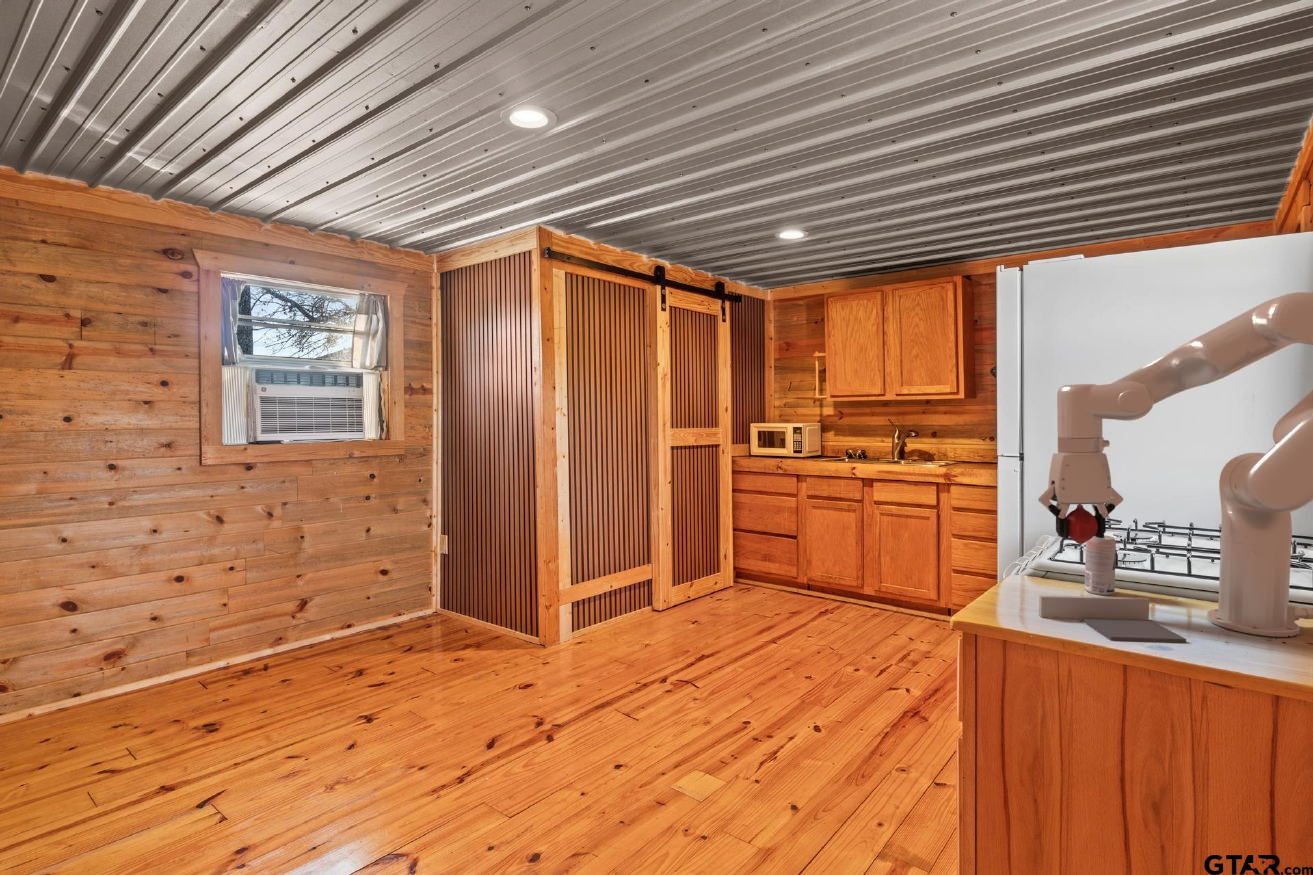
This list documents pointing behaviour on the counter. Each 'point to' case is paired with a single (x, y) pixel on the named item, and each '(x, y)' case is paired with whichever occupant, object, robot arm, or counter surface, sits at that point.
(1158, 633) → the rubber mat
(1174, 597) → the counter surface
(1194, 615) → the counter surface
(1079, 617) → the low wall
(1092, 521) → the onion
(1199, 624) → the counter surface
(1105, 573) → the energy drink
